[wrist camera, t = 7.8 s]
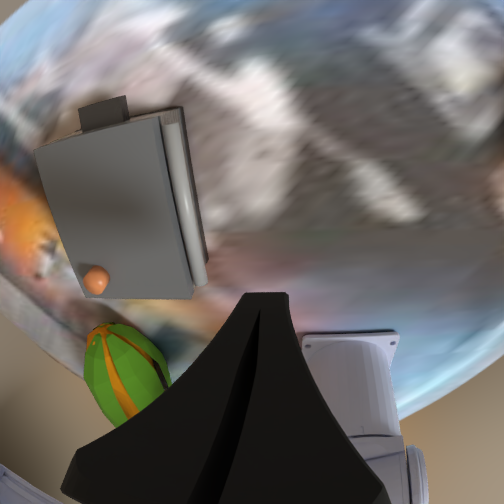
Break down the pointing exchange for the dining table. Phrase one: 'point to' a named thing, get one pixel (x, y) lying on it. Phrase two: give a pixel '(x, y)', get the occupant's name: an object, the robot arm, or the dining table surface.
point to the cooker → (118, 114)
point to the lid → (124, 211)
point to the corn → (122, 371)
